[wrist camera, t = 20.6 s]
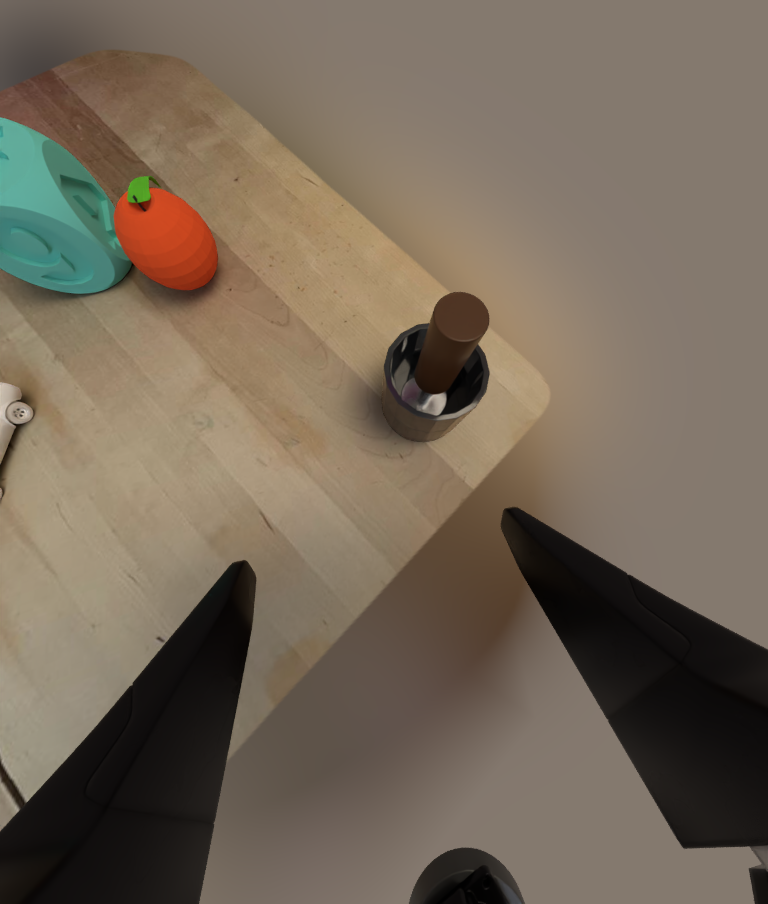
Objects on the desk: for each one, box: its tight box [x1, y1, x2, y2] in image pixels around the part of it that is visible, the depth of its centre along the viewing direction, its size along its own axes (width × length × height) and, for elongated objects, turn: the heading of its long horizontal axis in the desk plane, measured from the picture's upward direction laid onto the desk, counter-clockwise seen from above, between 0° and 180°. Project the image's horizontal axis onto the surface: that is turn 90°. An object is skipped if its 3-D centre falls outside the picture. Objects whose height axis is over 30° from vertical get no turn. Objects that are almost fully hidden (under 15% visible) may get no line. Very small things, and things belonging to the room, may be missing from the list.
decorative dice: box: [0, 118, 132, 294], centre depth 23 cm, size 8×8×8 cm
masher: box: [400, 292, 489, 415], centre depth 19 cm, size 4×4×12 cm
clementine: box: [114, 176, 218, 290], centre depth 23 cm, size 8×7×7 cm
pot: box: [381, 323, 489, 442], centre depth 22 cm, size 7×7×6 cm
